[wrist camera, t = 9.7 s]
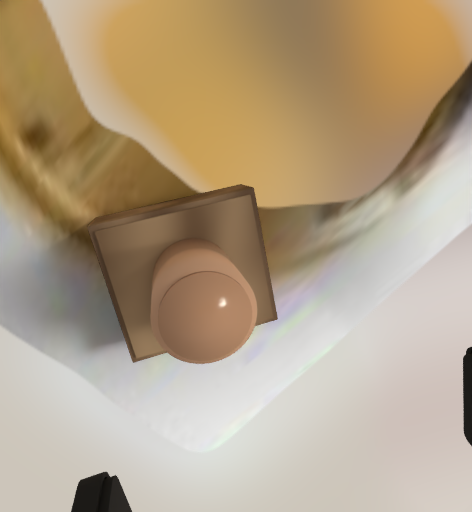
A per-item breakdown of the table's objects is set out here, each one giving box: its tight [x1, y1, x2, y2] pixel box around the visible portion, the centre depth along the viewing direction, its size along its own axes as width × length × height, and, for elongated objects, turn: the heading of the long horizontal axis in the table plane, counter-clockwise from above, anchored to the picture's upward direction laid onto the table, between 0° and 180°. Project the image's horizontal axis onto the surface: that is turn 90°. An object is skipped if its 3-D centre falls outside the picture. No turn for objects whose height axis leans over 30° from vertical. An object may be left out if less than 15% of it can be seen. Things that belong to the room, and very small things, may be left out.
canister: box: [150, 238, 257, 364], centre depth 23 cm, size 6×6×7 cm
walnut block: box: [87, 184, 278, 363], centre depth 28 cm, size 12×11×4 cm
